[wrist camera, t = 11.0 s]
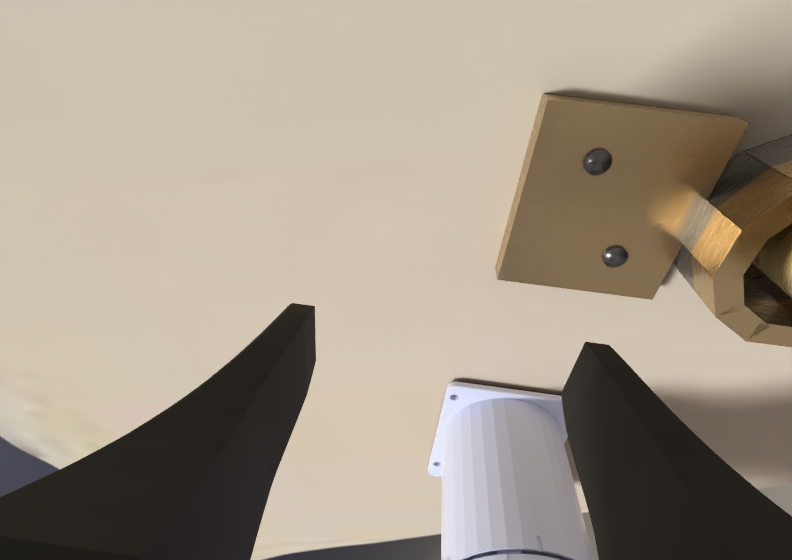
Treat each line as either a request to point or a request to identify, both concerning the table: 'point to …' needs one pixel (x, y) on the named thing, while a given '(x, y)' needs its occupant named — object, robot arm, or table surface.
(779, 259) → the hinge pin
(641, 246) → the hinge
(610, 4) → the table surface
